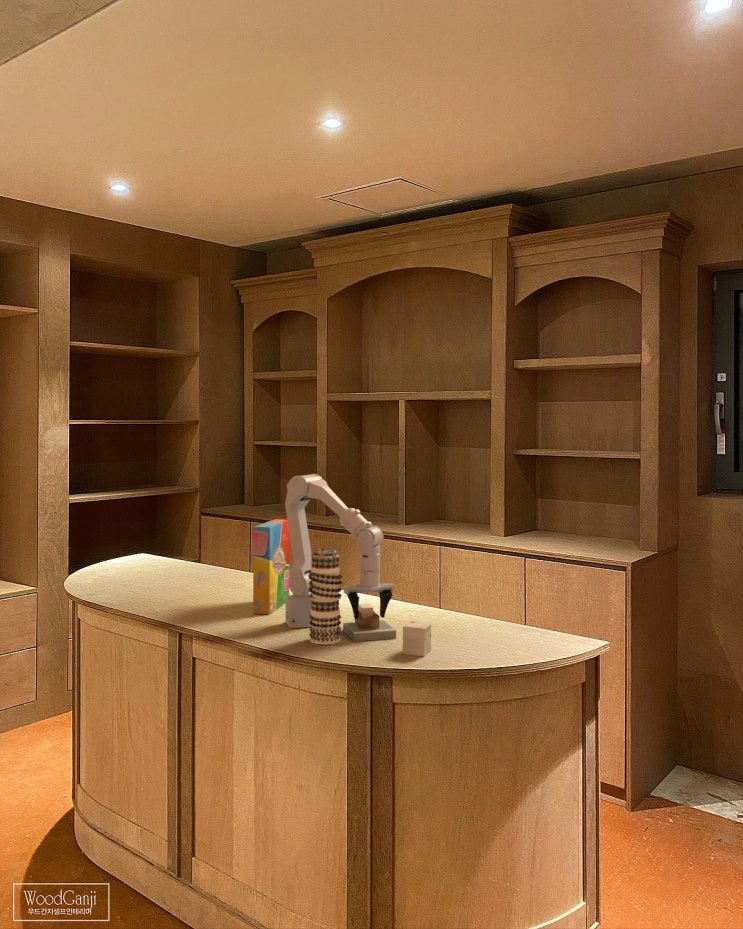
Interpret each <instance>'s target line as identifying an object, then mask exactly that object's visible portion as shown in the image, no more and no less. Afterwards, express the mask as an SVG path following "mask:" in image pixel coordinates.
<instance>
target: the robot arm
mask: <svg viewBox="0 0 743 929" xmlns="http://www.w3.org/2000/svg"><path fill="white" fill-rule="evenodd" d="M286 489H287V493H286V497H285V502H284V505H285V506H284V508H285V513H286V519H287V521H288V527H289V541H290V547H291V552H292V557H293V558H292V560H293V564H292V566H291V568H289V591H290V592H291V593H292V594H289V596H286V603H285V623H286V625H287V627H288V628H289V629H298V628H299V629H300V628H310V627H311V626H312V625H310V623H309V622H310V621H311V619H310V617H309V616H310V615H311V600H310V597H309V596H310V594H311V592H310V591H309V588H310V585H309V582H310V581H311V579H309V577H308V575H309V574H310V573H309V572H308V571H310V570H311V566H312V565H311V559H312V557H311V555H312V554H313V553H312V550H311V549H312V548H311V542H310V536H309V528H308V523H307V521H308V520H307V518H306V517H307V515H306V510H305V507H306V506H307V505H308V503H309V502H310V501H311V500H312V499H313V500H314V499H316V500H320V501H321V502H322V503H323V504H325V505H326V506H327V507H328V508H329V509H331V511H333V512H334V513H335V514H336V515H337V516H338V517H339V523H340V524H341V525H342V526H343V527H344V528H345V530H346V531H348V532H349V533H350V535H352V536H353V537H354V538H355V542H356V544H357V546H358V550H359V551H358V552H359V583H358V584H351V585H343V593H344V595H346V596H347V599H348V601H349V603H350V606H351V610H352V614H353V619H354V620H355V619H358V617H359V614H358V605H359V604H360V596H359V595H358V594H359V593H360V594H362V593H377V592H378V594H379V595H378V596H379V617H380V618H385V615H386V611H387V608H388V605H389V603H390V600H391V599H392V598H393V592H395V591H396V584H395V583H389V582H387V583H386V582H385V583H381V582H380V581H381V576H380V575H381V574H380V573H381V572H380V570H381V545H382V543H383V542H384V537H385V536H384V533H383V531H382V529H381V527H380V526H379V525H373V523H372V522H371V521H368V520H367V519H366V518H365V517H364V516H363V515H362V514H361V510H359V508H358V509H355V508H354V507H353V508H352V507H350V508H349V507H348V506H347V505H346V504H345V503H344V502H343V501H342V500H341V499H340V497H339V496H337V495H336V493H335V492H334V491H333V490H332V489H331V488H330V487H329V485H328V482H327V481H326V480H325V479H323V478H322V476H320V475H319V474H317V473H311V474H306V475H295V476H293V477H292V478H291V479H290V480H289V481H288V482H287V484H286ZM310 572H311V571H310Z"/></svg>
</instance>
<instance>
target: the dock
mask: <svg viewBox="0 0 743 929" xmlns="http://www.w3.org/2000/svg"><path fill="white" fill-rule="evenodd" d="M342 629H343V631H344V632H345V633H346V634H347V635H348V636H349V638H351V639H352V640H353V642H358V641H357V640H365V641H376V640H378V641H379V640H391V639H397V629H396V628H393V627H392V626H391V625H390V624H389V623H387V622H386V621H385V620H384V619H382V620H379V628H375V629H361V628H360V627H359V625H358V624H357V623H356V622H355V621H354V622H343V623H342Z"/></svg>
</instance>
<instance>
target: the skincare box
mask: <svg viewBox="0 0 743 929" xmlns="http://www.w3.org/2000/svg"><path fill="white" fill-rule="evenodd" d="M431 651H432V623H430V622H419V621H413V620H412V621H409V622H407V623H406V624H405V625H403V626H402V655H409V656H418V657H425V656H426V655H428V654H429V653H430V652H431Z"/></svg>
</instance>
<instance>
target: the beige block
mask: <svg viewBox="0 0 743 929" xmlns="http://www.w3.org/2000/svg"><path fill="white" fill-rule="evenodd" d="M373 611H374V607H373V606H372V605H371V604H370V603H359V605H358V612H359V613H360V614H361V615H362V616H363V617H368V616H373Z"/></svg>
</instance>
